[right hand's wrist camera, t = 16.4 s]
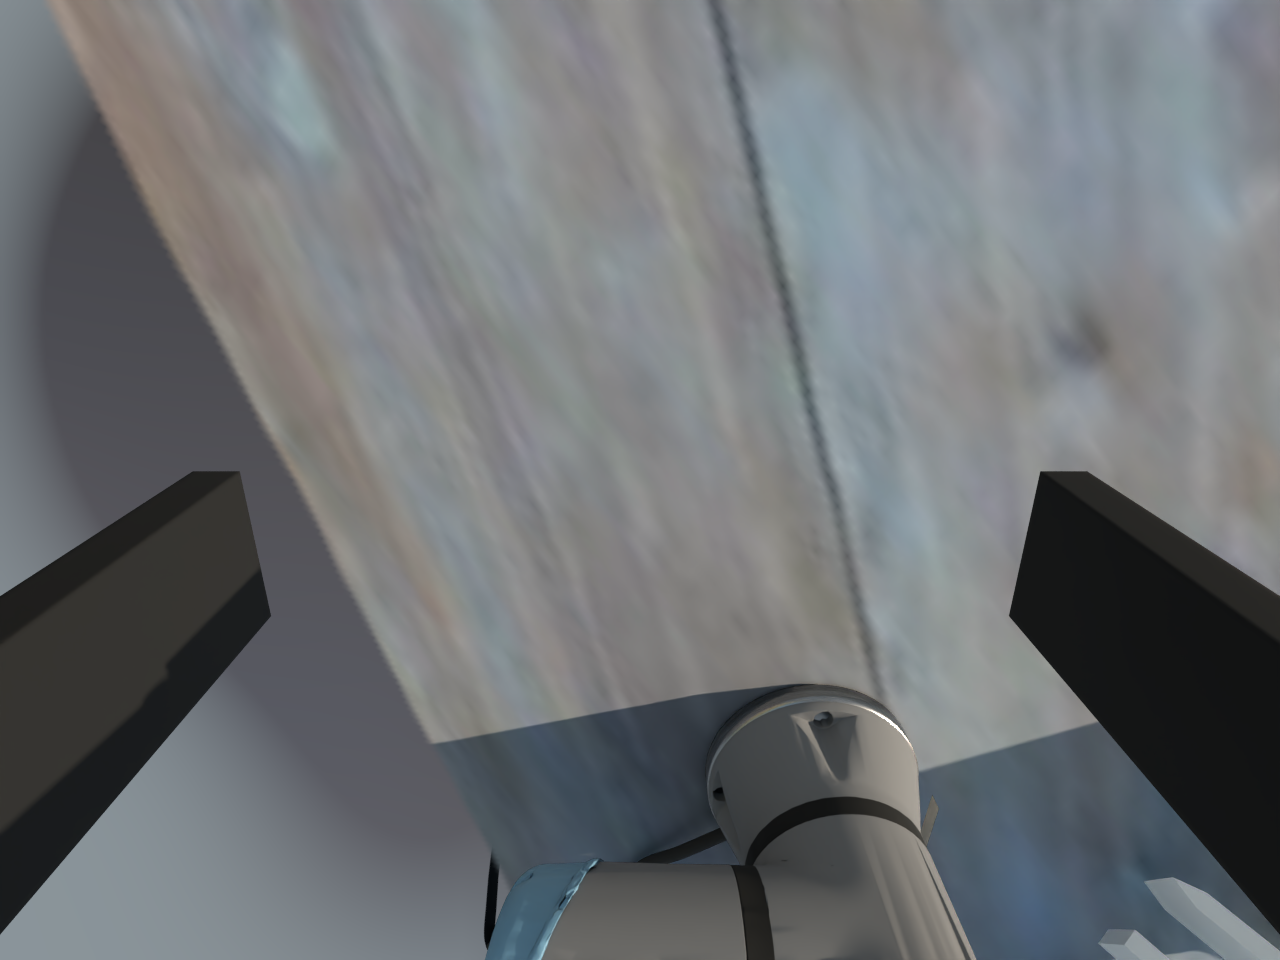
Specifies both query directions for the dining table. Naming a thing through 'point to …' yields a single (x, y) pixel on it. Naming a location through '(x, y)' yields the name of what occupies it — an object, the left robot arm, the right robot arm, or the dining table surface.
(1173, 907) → the white plastic object
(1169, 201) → the dining table surface
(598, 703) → the dining table surface
